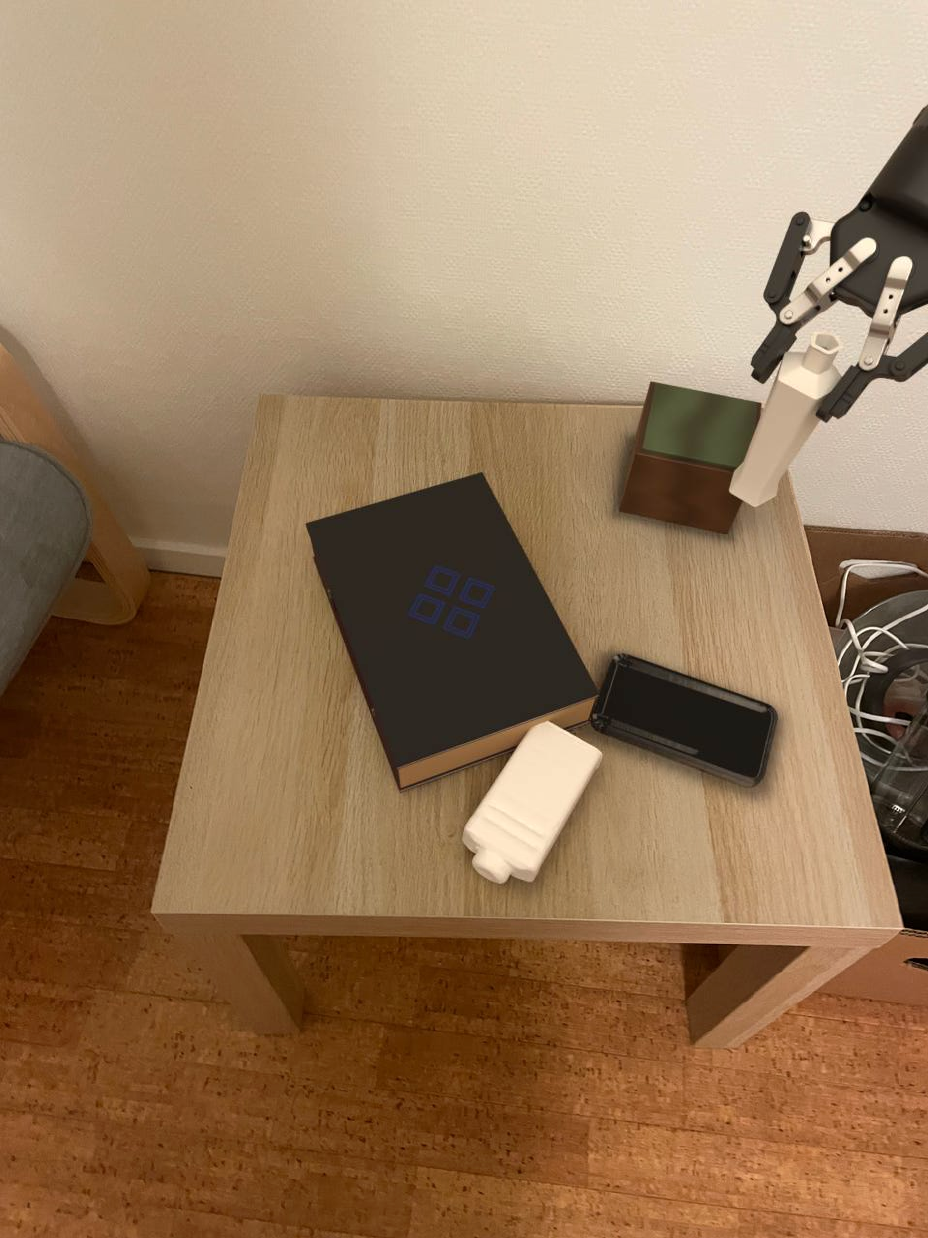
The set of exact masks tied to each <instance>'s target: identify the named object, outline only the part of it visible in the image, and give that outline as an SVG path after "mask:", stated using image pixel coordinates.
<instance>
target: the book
mask: <svg viewBox="0 0 928 1238" xmlns="http://www.w3.org/2000/svg"><path fill="white" fill-rule="evenodd" d="M305 528H306V531H307V533H308V536H309V539H310V543H311V547H312V551H313V556H312V558H313V562H314V565H315V568H316V570H317V573H318V576H319V578H320V582H321V584H322V587H323V590H324V591H325V595H326V597H327V600H328V603H329V606H330V608H331V611H332V614H333V616H334V619H335V622H336V624H337V627H338V629H339V633H340V635H341V637H342V640H343V641H342V642H343V643H344V646H345V649H346V651H347V654H348V657H349V660H350V662H351V665H352V667H353V670H354V673H355V676H356V678H357V681H358V683H359V686H360V690H361V693H362V695H363V698H364V700H365V703H366V706H367V708H368V710H369V713H370V717H371V718H372V722H373V724H374V727H375V730H376V732H377V735H378V737H379V740H380V744H381V746H382V749H383V752H384V754H385V757H386V759H387V762H388V765H389V767H390V770H391V773H392V776H393V779H394V782H395V784H396V787H397V789H398V792H399V794H402V793H404V792H407V791H409V790H412V789H414V788H415V789H416V788H418V787H421V786H423V785H426V784H428V783H431V782H435V781H436V780H439V779H442V778H445V777H448V776H451V775H452V774H453V775H454V774H457V773H458V772H461V771H465V770H466V769H470V768H472V767H475V766H477V765H480V764H483V763H486V762H489V761H491V760H494V759H496V758H499V757H502V756H505V755H507V754H510V753H514V751H515V750H516V748H517V747H518V745H519V744H520V742H521V741H522V739H523V737H524V736H525V734H526V733H527V731H528V730H529V729H530V728H532V727H534V726H536V725H538V724H540V723H544V722H546V721H549V722H551V723H553V724H554V725H556V726H558V727H560V728H561V729H563V730H565V731H567V732H570V731H573V730H575V729H578V728H580V727H584V726H587V725H589V724H590V723H591V718H590V714H591V713H592V709H593V706H594V703H595V701H596V699H598V697H599V695H600V691H599V689H598V688H597V686H596V684H595V682H594V680H593V679H592V676H591V674H590V673H589V670H588V669H587V667H586V665H585V663H584V661H583V660H582V657H581V655H580V654H579V652H578V650H577V648H576V645H575V644H574V643H573V640H572V639H571V637H570V635H569V633H568V630H567V629H566V627H565V625H564V624H563V622H562V620H561V618H560V616H559V614H558V612H557V610H556V608H555V606H554V604H553V603H552V601H551V599H550V597H549V595H548V593H547V590H546V589H545V587H544V585H543V584H542V581H541V580H540V578H539V576H538V575H537V572H536V571H535V569H534V567H533V565H532V563H531V561H530V559H529V557H528V555H527V553H526V552H525V550H524V548H523V545H522V544H521V542H520V540H519V538H518V537H517V535H516V534H515V531H514V529H513V527H512V525H511V523H510V521H509V519H508V518H507V516H506V514H505V512H504V510H503V509H502V506H501V505H500V502H499V500H498V499H497V497H496V494H495V493H494V491H493V490H492V488H491V486H490V484H489V482H488V480H487V478H486V476H485V474H484V473H483V471H480V472H476V473H473V474H471V475H467V476H463V477H460V478H457V479H452V480H449V481H446V482H442V483H439V484H436V485H432V486H429V487H425V488H422V489H419V490H418V489H417V490H415V491H412V492H408V493H404V494H401V495H398V496H394V497H391V498H388V499H384V500H380V501H376V502H374V503H370V504H367V505H363V506H360V507H357V508H353V509H349V510H346V511H343V512H340V513H336V514H332V515H329V516H325V517H322V518H318V519H315V520H312V521H308V522H305Z"/></svg>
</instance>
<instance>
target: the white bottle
mask: <svg viewBox="0 0 928 1238" xmlns="http://www.w3.org/2000/svg"><path fill="white" fill-rule="evenodd" d="M603 758H604V756H603V752H601V750H600V749H599V748H598V747H595V746H594V745H592V744H590V743H588V742H586V741H584V740H583V739H581V738H579V737H577V736H576V735H574V734H573V733H570V732H569V731H565V730H563V729H561V728H560V727H558V726H556V725H554V724H553V723H551V722H549V721H546V722H544V723H540V724H538V725H536V726H534V727H532V728H530V729H529V730H528V731H527V733H526V734H525V736H524V737H523V739H522V741H521V742H520V744H519V745H518V747H517V748H516V750H515V751H513V752H512V754H511V756H510V757H509V759H508V760H507V762H506V764H505V765H504V766H503V768H502V769H501V771H500V773H498V775H497V777H496V779H495V780H494V782H493V784H492V785H491V786H490V787H489V790H488V791H487V793H486V794H485V795H484V797H483V798H482V800H481V802H480V803H479V804H478V806H477V807H476V809H475V810H474V812H473V814H472V815H471V816H470V817H469V818H468V820H467V822H466V824H465V825H464V828H463V832H462V837H461V841H462V843H463V844H464V845H465V846H466V847H467V849H468V850H469V851H470V852H472V853H473V854H474V856H473V857H472V860H471V865H472V867H473V868H474V870H475V871H476V872H477V873H478V874H479V875H481V876H482V877H483V878H485V879H487V880H489V881H490V882H492V883H495V884H499V885H502V884H505V883H506V882H507V880H508V879H509V878H510V876H512V877H513V878H515V879H518V880H520V881H524V882H526V883H532V882H533V881H534V880H535V879H536V877H537V876H538V875H539V872H540V870H541V867H542V866H543V864H544V862H545V860H546V858H547V857H548V856H549V853H550V851H551V850H552V848H553V846H554V845H555V842H556V841H557V839H558V837H559V836H560V834H561V832H562V830H563V828H564V827H565V825H566V824H567V821H568V820H569V818H570V815H571V814H572V813H573V810H574V809H575V807H576V805H577V804H578V802H579V800H580V799H581V797H582V795H583V793H584V791H585V790H586V788H587V787H588V784H589V782H590V781H591V779H592V777H593V775H594V773H595V771H596V770H597V769H598V768H600V766H601V762H602V759H603Z"/></svg>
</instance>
